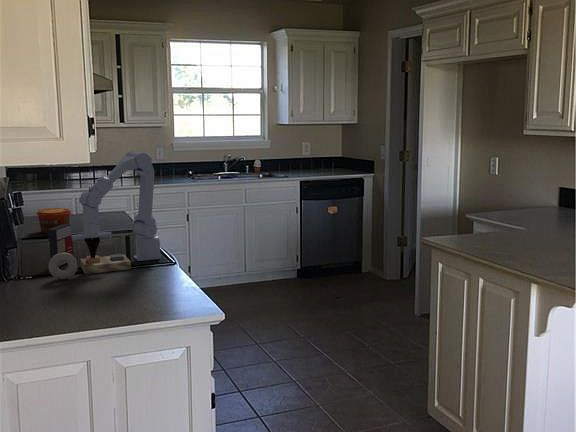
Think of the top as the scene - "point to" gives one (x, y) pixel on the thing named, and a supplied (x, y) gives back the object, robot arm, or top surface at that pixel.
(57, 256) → the donut
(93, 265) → the tan flat rectangular block
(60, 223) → the food container
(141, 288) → the top surface
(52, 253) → the grey and red box
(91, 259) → the brown cube
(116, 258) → the gray cube
